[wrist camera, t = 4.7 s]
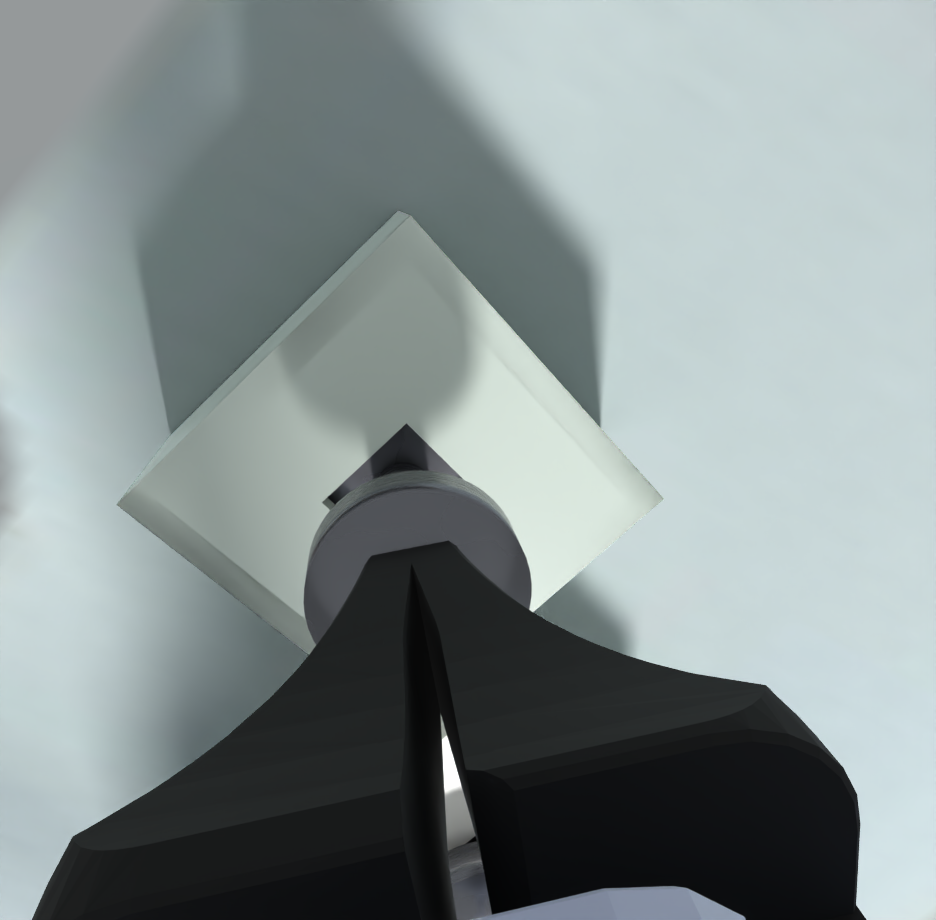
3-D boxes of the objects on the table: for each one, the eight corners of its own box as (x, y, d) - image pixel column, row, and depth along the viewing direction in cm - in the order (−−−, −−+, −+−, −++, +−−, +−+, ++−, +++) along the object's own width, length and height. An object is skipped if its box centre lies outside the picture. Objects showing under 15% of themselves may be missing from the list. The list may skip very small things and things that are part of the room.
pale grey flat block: (392, 623, 22) (400, 726, 17) (169, 435, 19) (116, 504, 15) (601, 437, 21) (664, 499, 16) (397, 210, 18) (410, 215, 14)
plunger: (398, 625, 18) (414, 785, 13) (230, 482, 16) (176, 606, 11) (562, 480, 17) (642, 592, 12) (404, 314, 15) (427, 370, 11)
